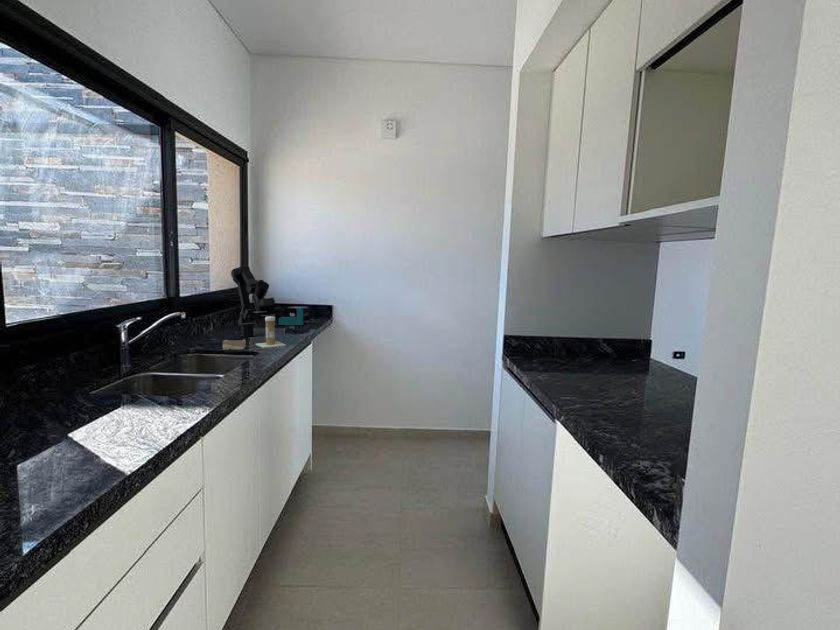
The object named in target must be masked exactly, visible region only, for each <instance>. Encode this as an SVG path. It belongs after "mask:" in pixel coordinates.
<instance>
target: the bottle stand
mask: <svg viewBox="0 0 840 630" xmlns="http://www.w3.org/2000/svg"><path fill="white" fill-rule="evenodd" d="M246 346H247V343H246V339H242V340H228V339H225V340H222V350H223V351H224V350H225V351H226V350H227V351H229V349H231V350H244V349H245V348H246Z"/></svg>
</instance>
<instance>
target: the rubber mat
mask: <svg viewBox="0 0 840 630" xmlns="http://www.w3.org/2000/svg"><path fill="white" fill-rule="evenodd" d="M255 346H258V347H260V348H262V349H272V348H278V347H286V346H287V345H286V344H285V343H283V342H280V341H276V340H275V344H272V345H267V344H266V342H260V343H259V342H258V343H255Z"/></svg>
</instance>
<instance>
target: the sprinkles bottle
mask: <svg viewBox="0 0 840 630" xmlns="http://www.w3.org/2000/svg"><path fill="white" fill-rule="evenodd" d="M264 321H265V343H266V344H267V345H272V344H275V342H276V326H275V317H273V315H268V316H265V318H264Z"/></svg>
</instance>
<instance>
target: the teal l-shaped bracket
mask: <svg viewBox="0 0 840 630" xmlns="http://www.w3.org/2000/svg"><path fill="white" fill-rule="evenodd" d="M275 325H276V324H275ZM278 325H285V326H303V325H304V309H303V308H296V316H282V317H281V318H280V319H279V322H278Z"/></svg>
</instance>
